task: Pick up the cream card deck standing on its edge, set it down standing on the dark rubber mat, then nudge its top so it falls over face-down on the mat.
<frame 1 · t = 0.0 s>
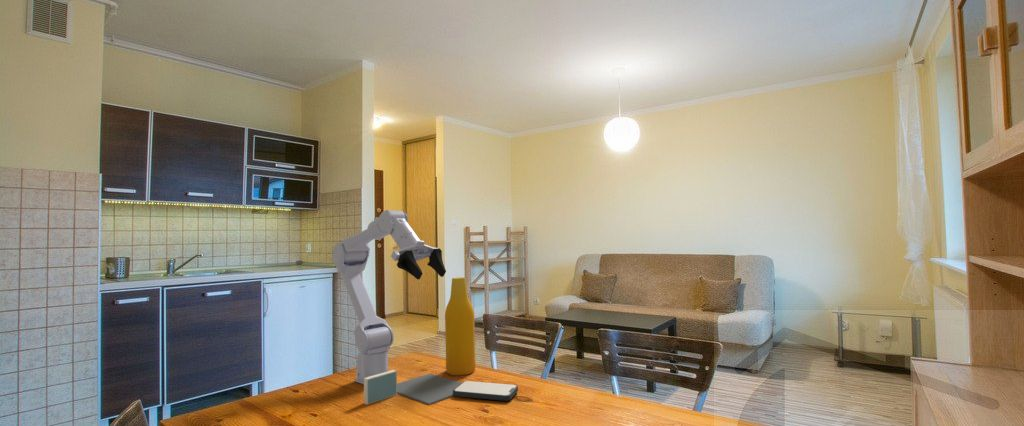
hand: (432, 275, 118), 32 cm above the table, tool tilted 50°, fingers open, 7 cm apart
phone case: (485, 394, 122), on the table, touching mat
mat: (429, 388, 128), on the table
beer bottle: (460, 371, 143), on the table
card deck: (380, 399, 121), on the table
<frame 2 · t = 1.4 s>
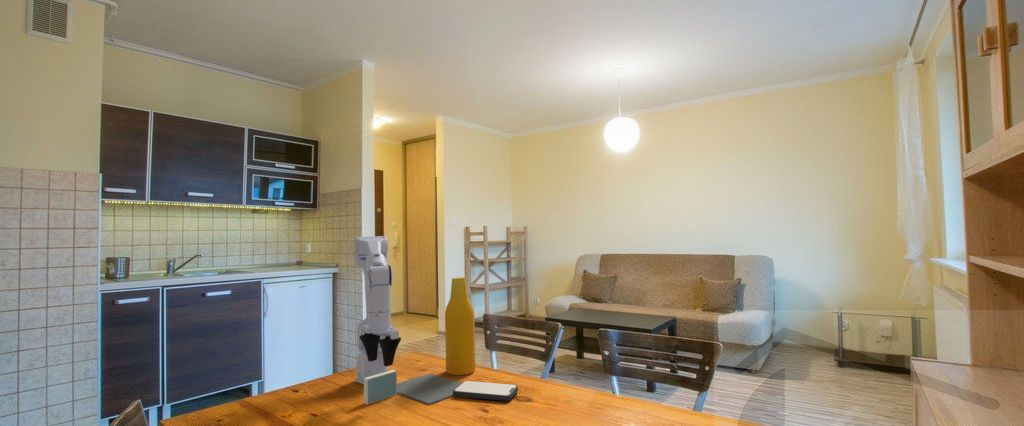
hand: (380, 363, 121), 9 cm above the table, tool pointing down, fingers open, 7 cm apart
nothing on the table moved.
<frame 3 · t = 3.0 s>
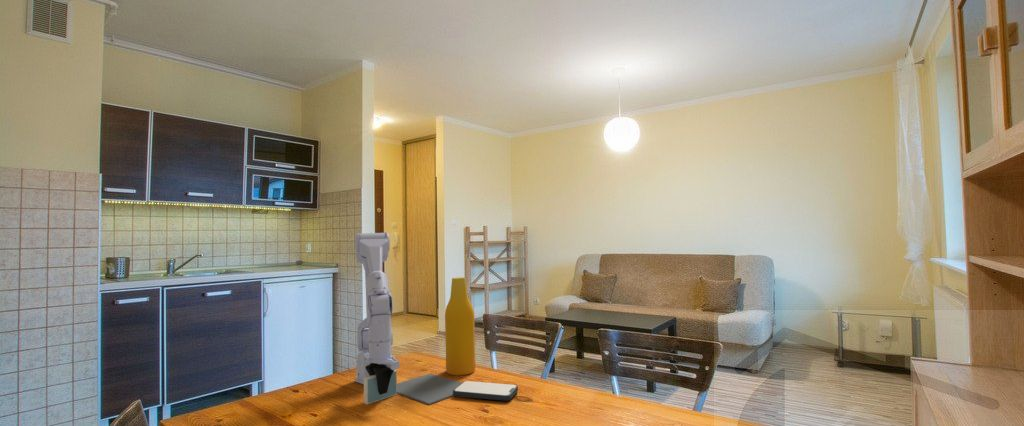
hand: (380, 392, 121), 2 cm above the table, tool pointing down, fingers closed on card deck, 2 cm apart
card deck: (380, 398, 121), on the table, touching gripper
everything else where it was.
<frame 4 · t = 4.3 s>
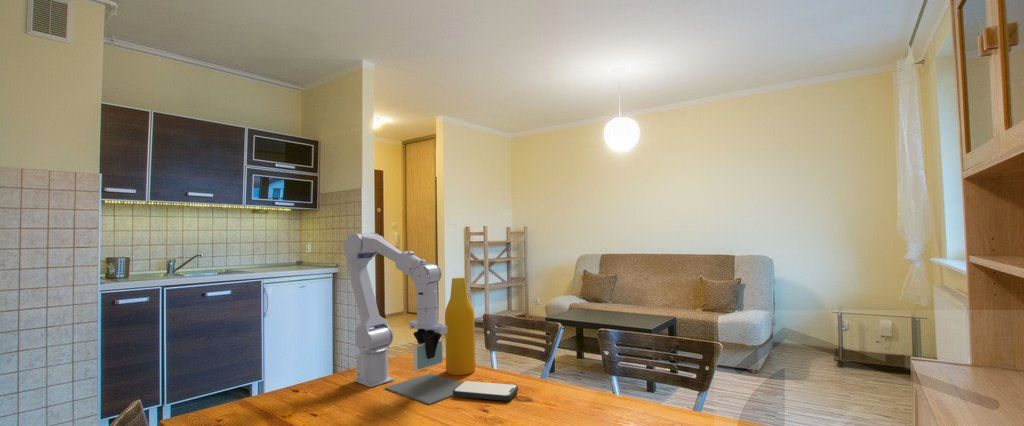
hand: (428, 357, 127), 9 cm above the table, tool pointing down, fingers closed on card deck
card deck: (428, 366, 127), point 7 cm above the table, touching gripper
everything else where it was.
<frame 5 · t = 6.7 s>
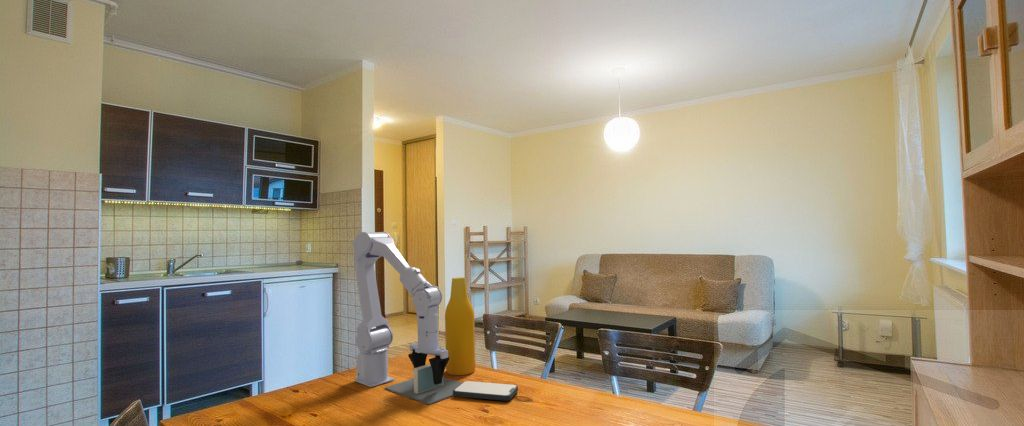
hand: (429, 380, 126), 3 cm above the table, tool pointing down, fingers open, 7 cm apart
card deck: (429, 388, 126), resting on mat
everything else where it was.
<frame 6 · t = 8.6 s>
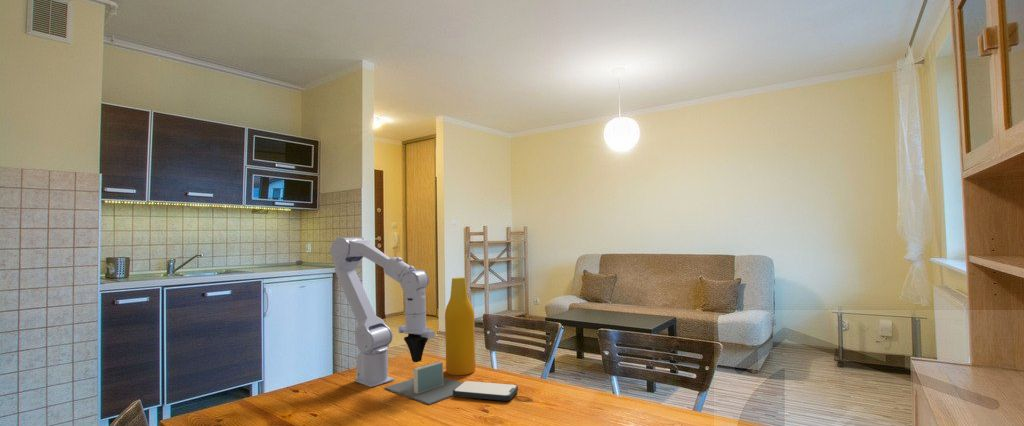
hand: (416, 361, 130), 7 cm above the table, tool pointing down, fingers closed
nothing on the table moved.
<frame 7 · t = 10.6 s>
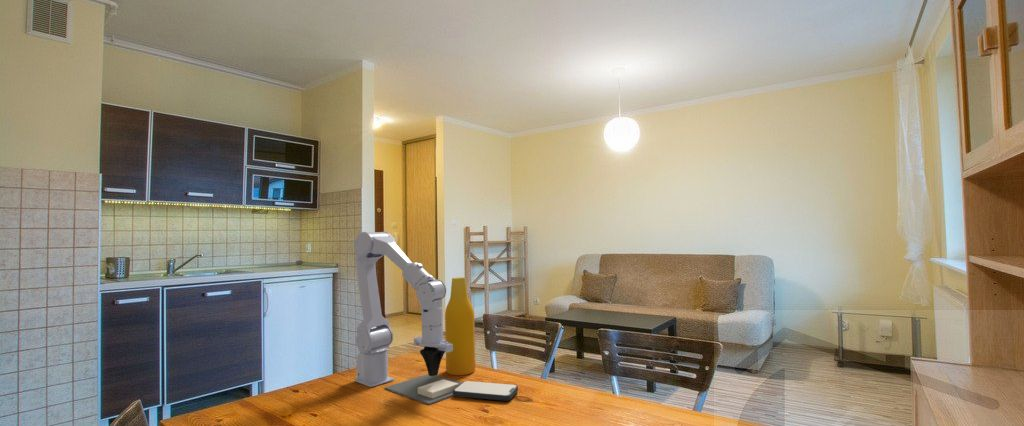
hand: (433, 375, 125), 4 cm above the table, tool pointing down, fingers closed
card deck: (430, 386, 126), point 1 cm above the table, tilted 90°, touching mat
everything else where it was.
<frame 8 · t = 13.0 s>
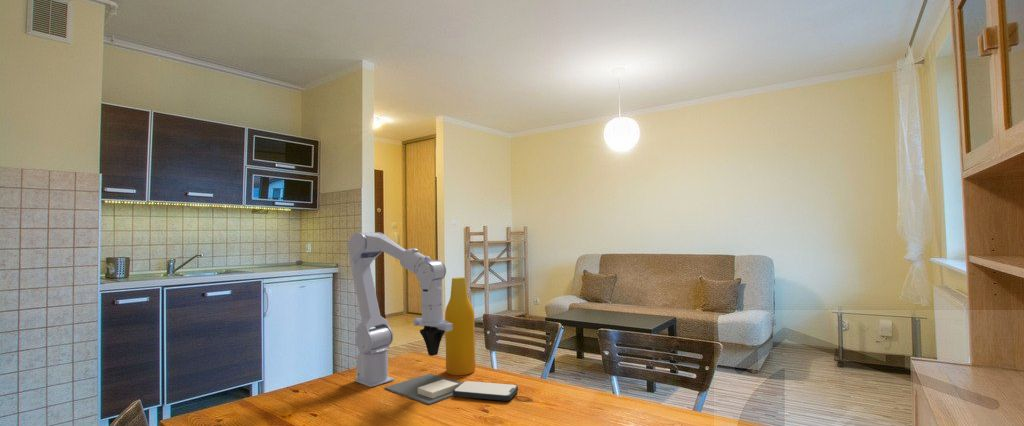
hand: (433, 354, 125), 10 cm above the table, tool pointing down, fingers closed
nothing on the table moved.
at the end: card deck tilted 90°; card deck inside the target area on the mat (2.1 cm from its centre), point 1.2 cm above the mat's base; the gripper is holding nothing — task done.
